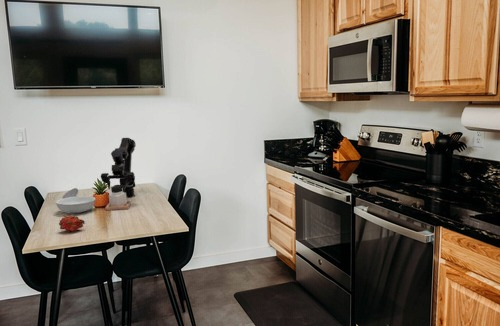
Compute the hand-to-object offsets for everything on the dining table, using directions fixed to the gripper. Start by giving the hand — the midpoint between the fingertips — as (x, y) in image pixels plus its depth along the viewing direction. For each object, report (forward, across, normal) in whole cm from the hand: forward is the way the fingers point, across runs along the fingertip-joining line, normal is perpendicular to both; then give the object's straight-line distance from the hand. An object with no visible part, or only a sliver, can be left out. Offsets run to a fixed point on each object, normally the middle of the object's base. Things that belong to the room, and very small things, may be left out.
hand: (116, 189), depth 247 cm
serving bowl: (+10, -22, +6) cm, 25 cm away
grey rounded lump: (-7, -33, +24) cm, 42 cm away
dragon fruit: (+38, -13, -21) cm, 45 cm away
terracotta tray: (+7, 0, +9) cm, 11 cm away
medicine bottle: (+6, 0, +8) cm, 10 cm away
